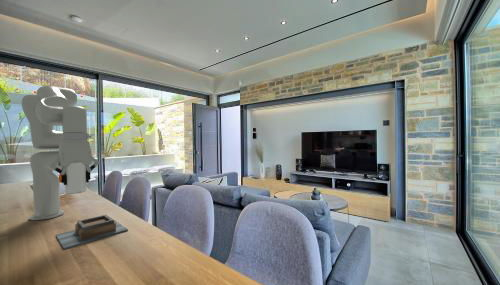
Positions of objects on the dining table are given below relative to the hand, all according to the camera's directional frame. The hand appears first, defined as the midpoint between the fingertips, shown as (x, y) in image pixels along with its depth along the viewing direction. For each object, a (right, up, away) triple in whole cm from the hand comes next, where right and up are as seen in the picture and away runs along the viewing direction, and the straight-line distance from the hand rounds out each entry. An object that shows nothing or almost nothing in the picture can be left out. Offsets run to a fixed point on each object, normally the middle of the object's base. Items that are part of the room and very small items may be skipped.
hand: (76, 182), depth 87 cm
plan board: (+7, -20, +1) cm, 21 cm away
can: (0, -4, 0) cm, 4 cm away
